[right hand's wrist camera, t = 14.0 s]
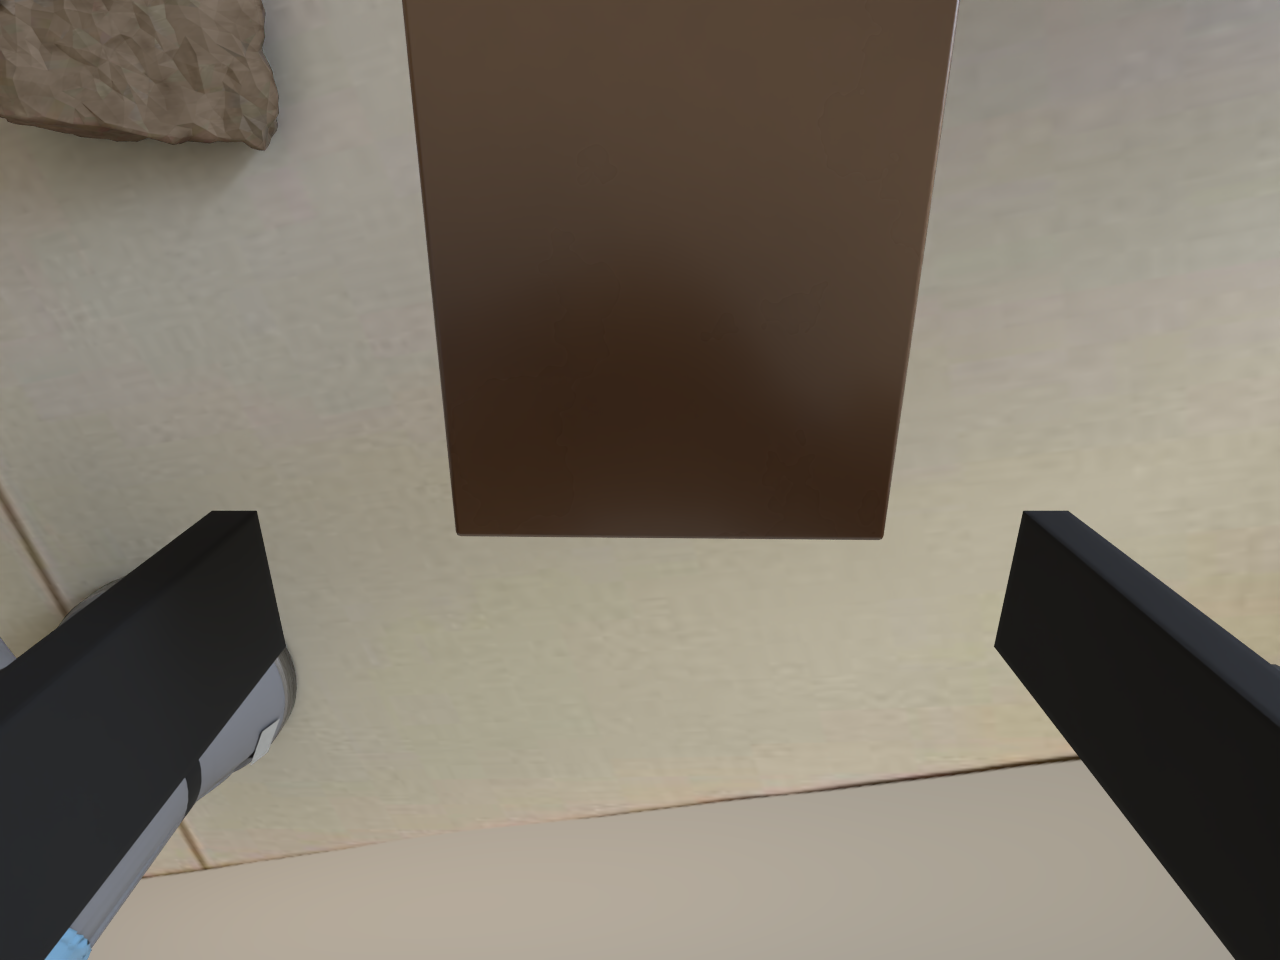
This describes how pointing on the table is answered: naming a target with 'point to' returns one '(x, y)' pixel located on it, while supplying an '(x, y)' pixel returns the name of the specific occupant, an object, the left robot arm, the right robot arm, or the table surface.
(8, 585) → the table surface
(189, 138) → the stone
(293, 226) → the table surface
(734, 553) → the table surface
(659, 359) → the bar
